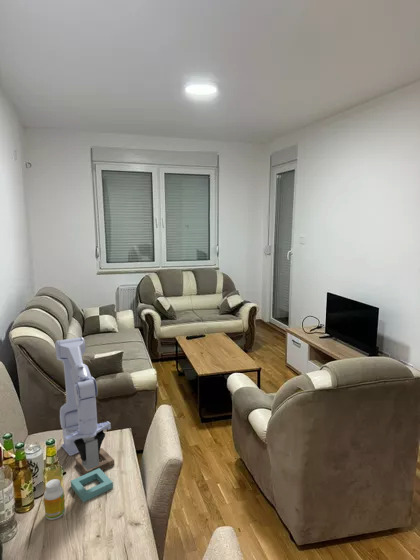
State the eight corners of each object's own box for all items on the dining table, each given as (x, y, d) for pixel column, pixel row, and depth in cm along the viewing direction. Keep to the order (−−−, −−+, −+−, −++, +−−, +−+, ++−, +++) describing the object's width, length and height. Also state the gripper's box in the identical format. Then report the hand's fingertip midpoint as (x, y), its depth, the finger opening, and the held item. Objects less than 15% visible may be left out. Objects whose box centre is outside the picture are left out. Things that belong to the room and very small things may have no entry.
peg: (82, 464, 123) (80, 438, 122) (93, 459, 125) (92, 434, 124) (87, 470, 120) (85, 443, 119) (99, 465, 122) (97, 439, 121)
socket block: (76, 463, 136) (75, 458, 136) (102, 453, 142) (102, 448, 142) (87, 477, 128) (87, 471, 128) (114, 464, 135) (114, 459, 135)
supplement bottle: (65, 517, 110) (62, 486, 109) (45, 522, 108) (42, 491, 107) (65, 505, 115) (62, 475, 114) (45, 510, 113) (43, 480, 112)
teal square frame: (70, 486, 124) (70, 480, 123) (99, 473, 130) (99, 468, 130) (83, 502, 116) (82, 496, 116) (113, 487, 123) (112, 482, 122)
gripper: (69, 429, 113) (72, 471, 114) (114, 413, 122) (116, 453, 124) (61, 421, 118) (64, 461, 120) (104, 406, 127) (106, 444, 129)
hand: (90, 456), depth 122 cm, fingers closed on peg, 4 cm apart
